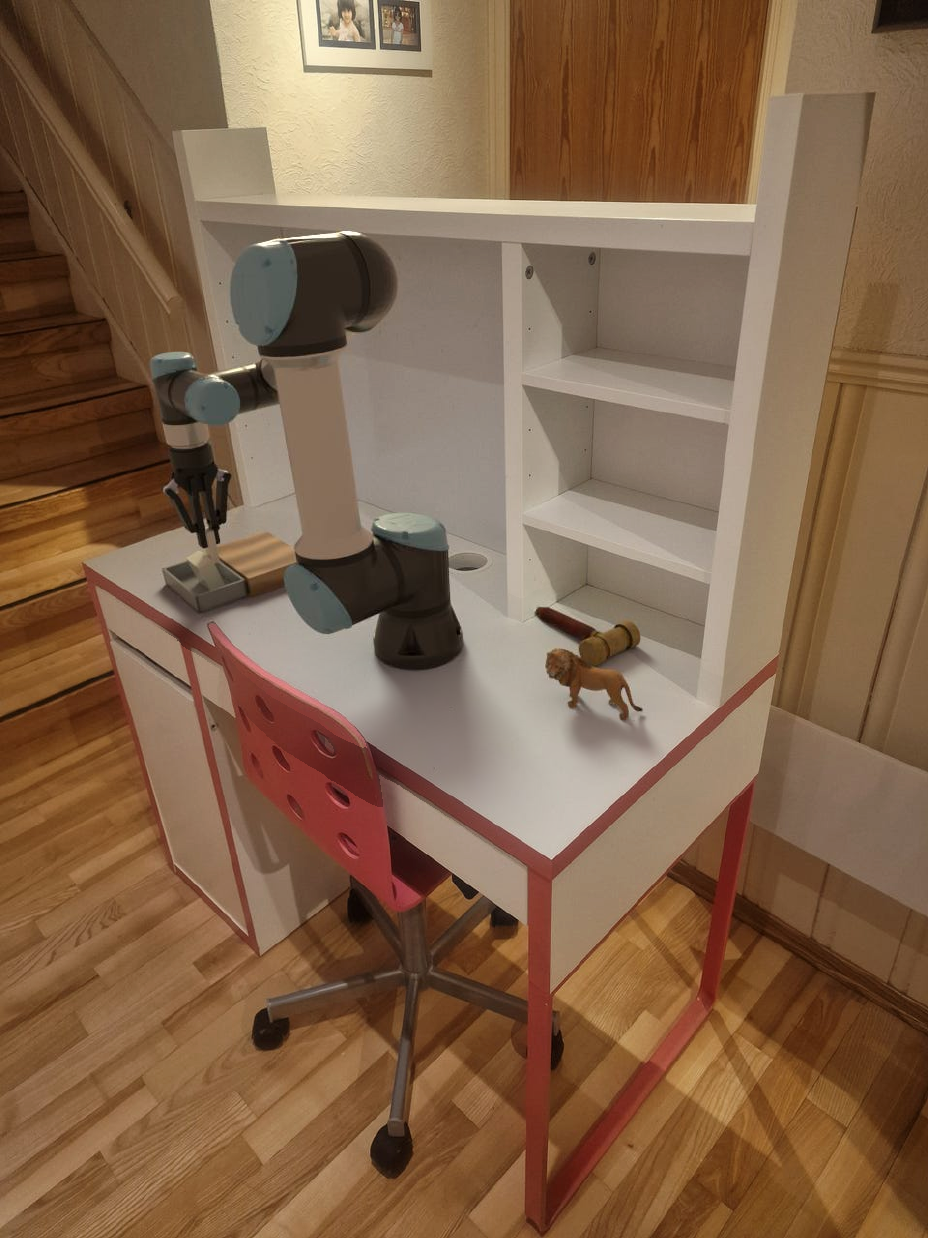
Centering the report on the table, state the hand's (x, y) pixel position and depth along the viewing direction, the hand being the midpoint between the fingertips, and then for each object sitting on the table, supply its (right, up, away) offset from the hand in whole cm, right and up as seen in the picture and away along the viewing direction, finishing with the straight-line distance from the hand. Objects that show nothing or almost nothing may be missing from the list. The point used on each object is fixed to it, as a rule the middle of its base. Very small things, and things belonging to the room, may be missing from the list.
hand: (213, 560), depth 164 cm
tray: (-2, -6, +1) cm, 6 cm away
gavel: (+67, -14, -18) cm, 71 cm away
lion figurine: (+67, -25, -36) cm, 80 cm away
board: (+7, -2, +8) cm, 11 cm away
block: (0, -1, +1) cm, 1 cm away
